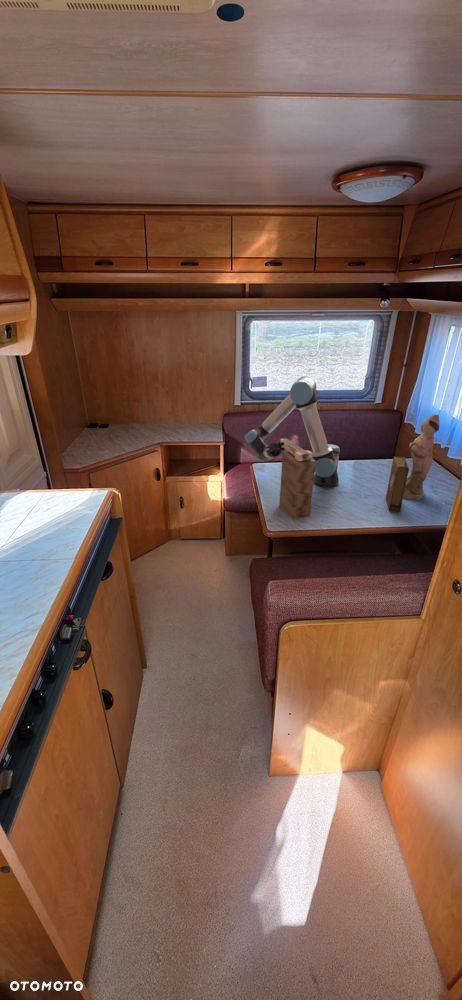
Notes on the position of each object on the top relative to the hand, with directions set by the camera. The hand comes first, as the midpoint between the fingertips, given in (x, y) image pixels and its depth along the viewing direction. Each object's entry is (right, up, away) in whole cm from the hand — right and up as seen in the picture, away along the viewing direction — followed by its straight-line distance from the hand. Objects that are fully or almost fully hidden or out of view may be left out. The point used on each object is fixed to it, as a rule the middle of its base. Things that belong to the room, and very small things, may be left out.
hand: (291, 441), depth 215 cm
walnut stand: (+3, -35, +8) cm, 36 cm away
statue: (+71, -25, +29) cm, 81 cm away
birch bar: (+1, -5, -1) cm, 6 cm away
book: (+57, -32, +15) cm, 67 cm away
